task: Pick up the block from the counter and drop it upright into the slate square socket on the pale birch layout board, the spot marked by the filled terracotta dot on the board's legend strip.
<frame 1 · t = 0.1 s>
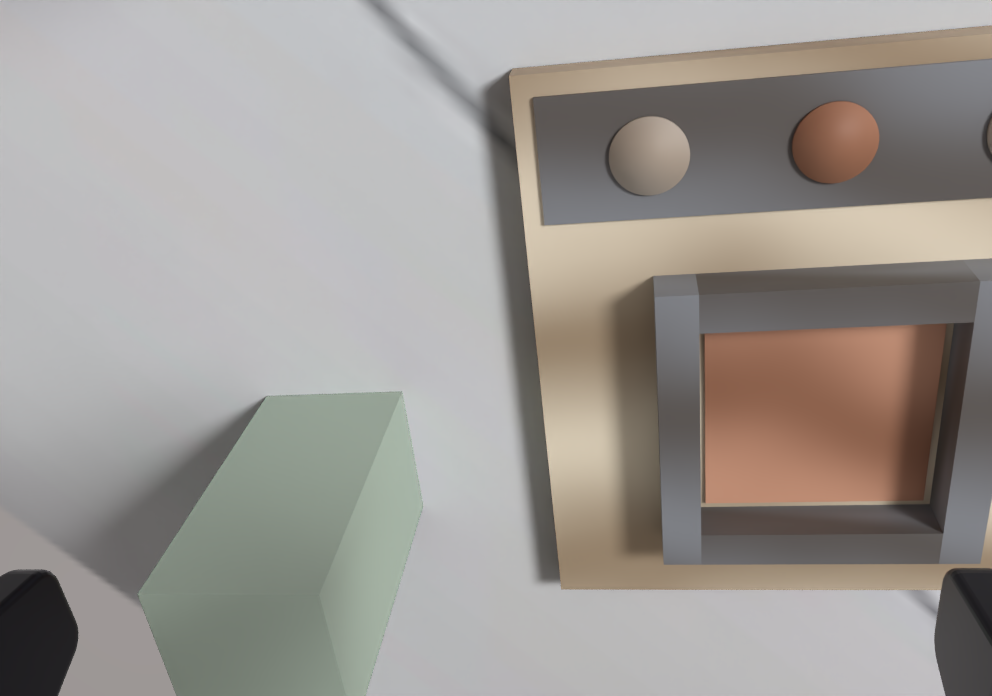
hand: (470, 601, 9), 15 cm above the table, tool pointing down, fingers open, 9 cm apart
layout board: (794, 345, 23), on the table
block: (346, 452, 27), on the table
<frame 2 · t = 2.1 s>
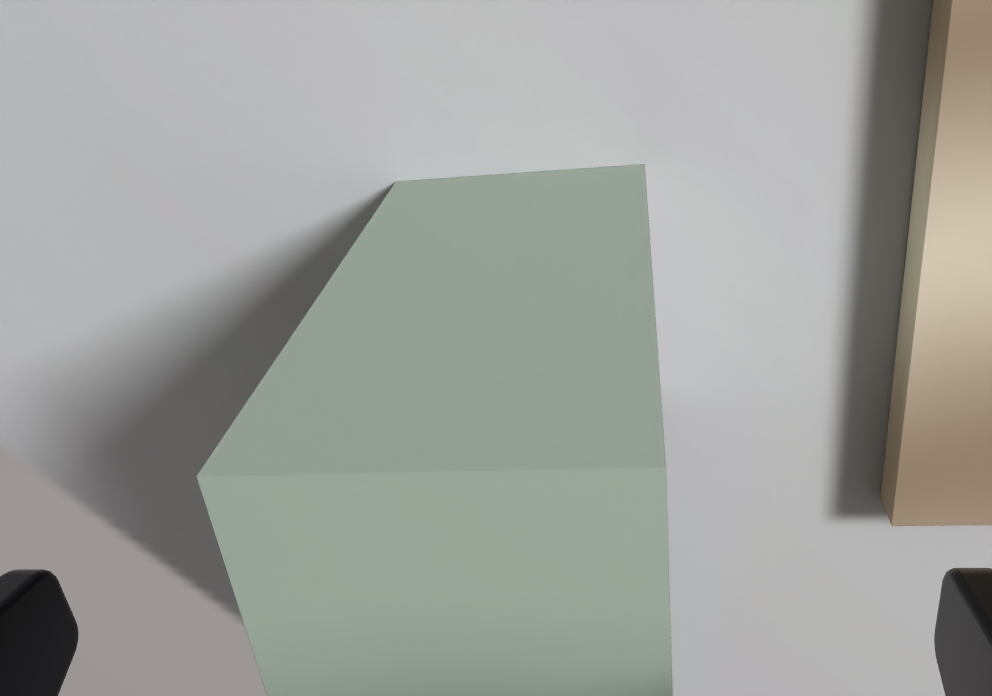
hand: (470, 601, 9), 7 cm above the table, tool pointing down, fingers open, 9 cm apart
block: (529, 287, 16), on the table
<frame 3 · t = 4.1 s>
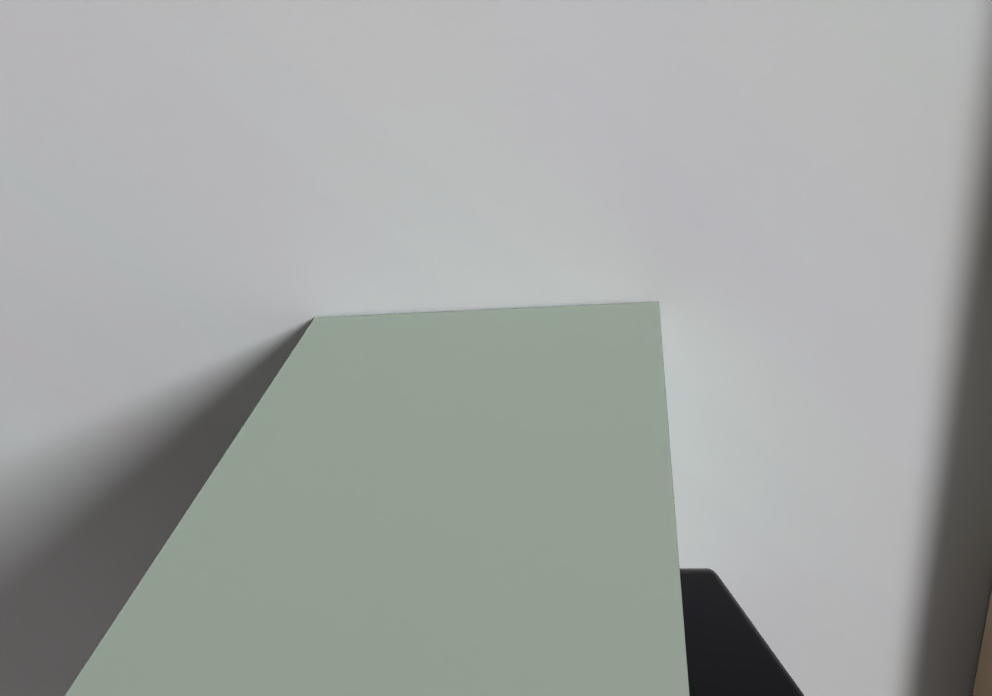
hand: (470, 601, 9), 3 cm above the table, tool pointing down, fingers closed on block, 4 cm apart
block: (500, 454, 11), on the table, touching gripper
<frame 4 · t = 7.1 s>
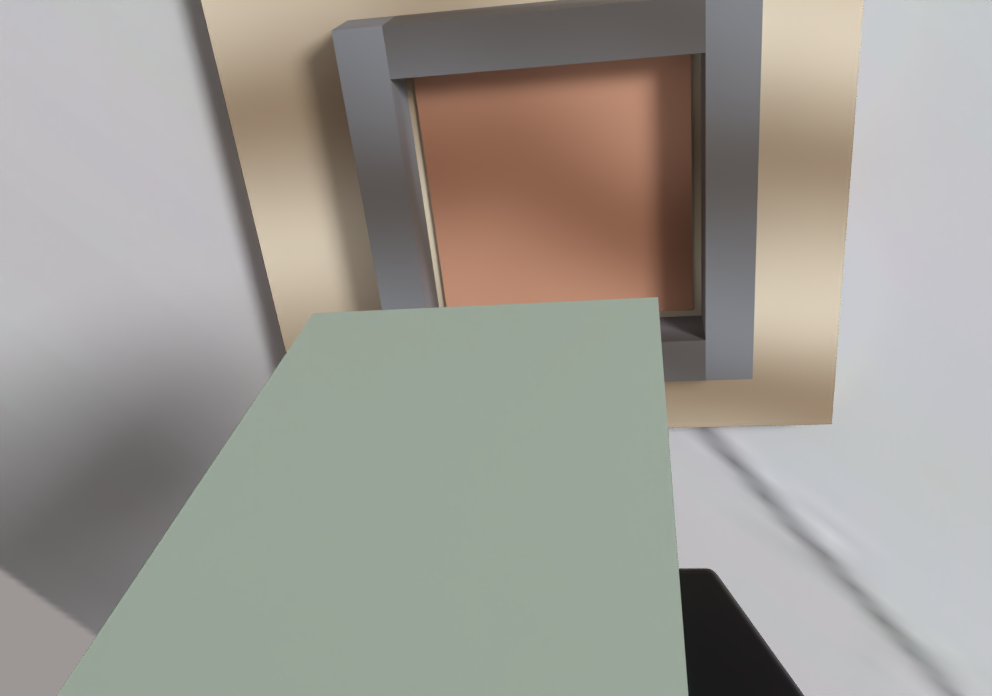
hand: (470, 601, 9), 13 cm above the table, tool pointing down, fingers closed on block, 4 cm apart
layout board: (533, 120, 20), on the table
block: (499, 450, 11), point 10 cm above the table, touching gripper
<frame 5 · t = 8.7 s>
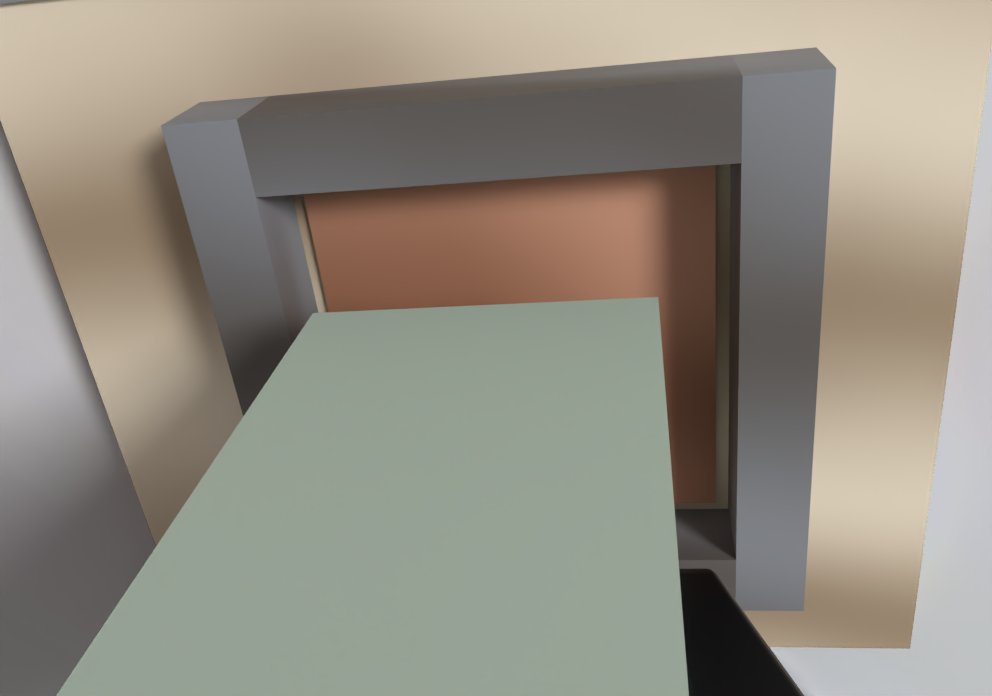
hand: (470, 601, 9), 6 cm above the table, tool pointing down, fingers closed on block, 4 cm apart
layout board: (484, 237, 14), on the table
block: (499, 450, 11), point 3 cm above the table, touching gripper
when the fingers open (4 cm above the table, at t = 10.0 s): block drops 1 cm, resting on layout board.
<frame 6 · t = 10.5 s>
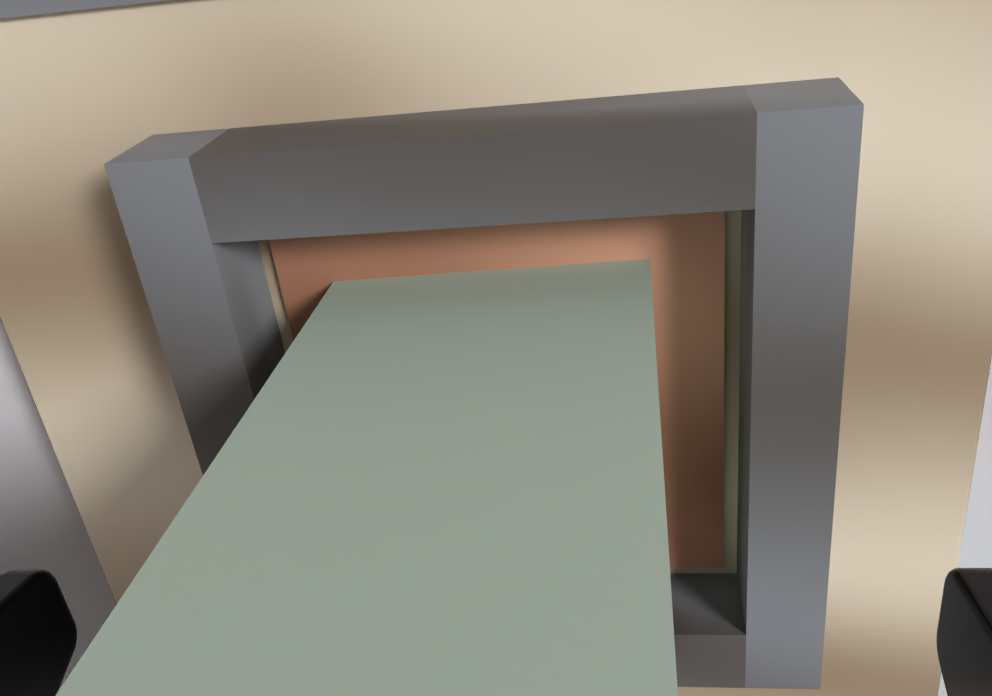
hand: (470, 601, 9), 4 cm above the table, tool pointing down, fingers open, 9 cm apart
layout board: (469, 280, 12), on the table
block: (507, 406, 12), point 1 cm above the table, touching layout board
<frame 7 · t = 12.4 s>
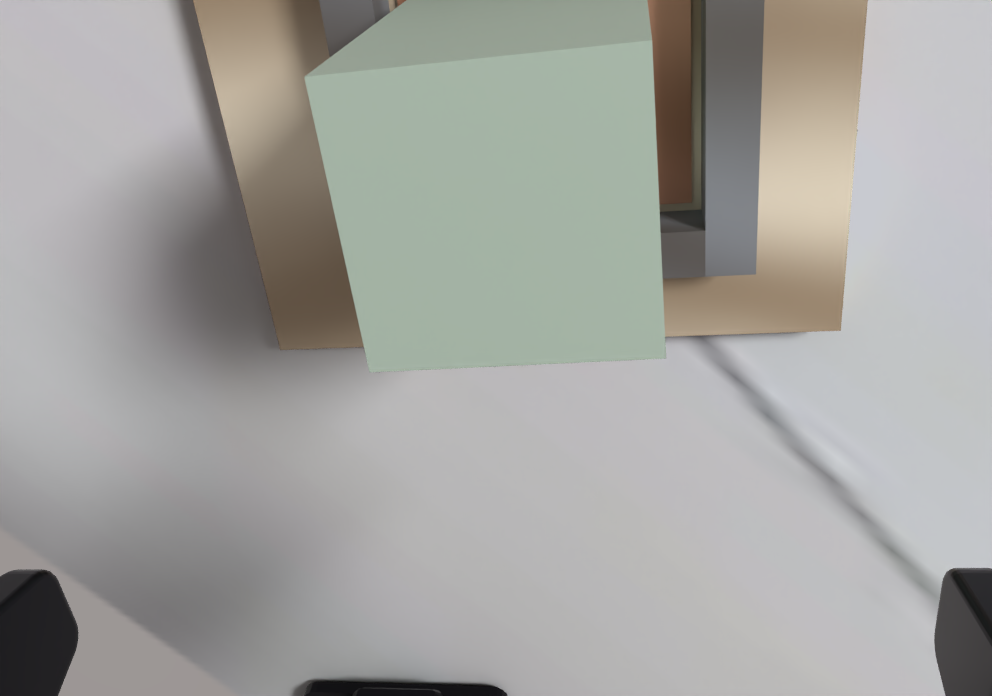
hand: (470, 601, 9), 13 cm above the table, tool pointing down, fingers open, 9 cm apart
block: (545, 76, 18), point 1 cm above the table, touching layout board
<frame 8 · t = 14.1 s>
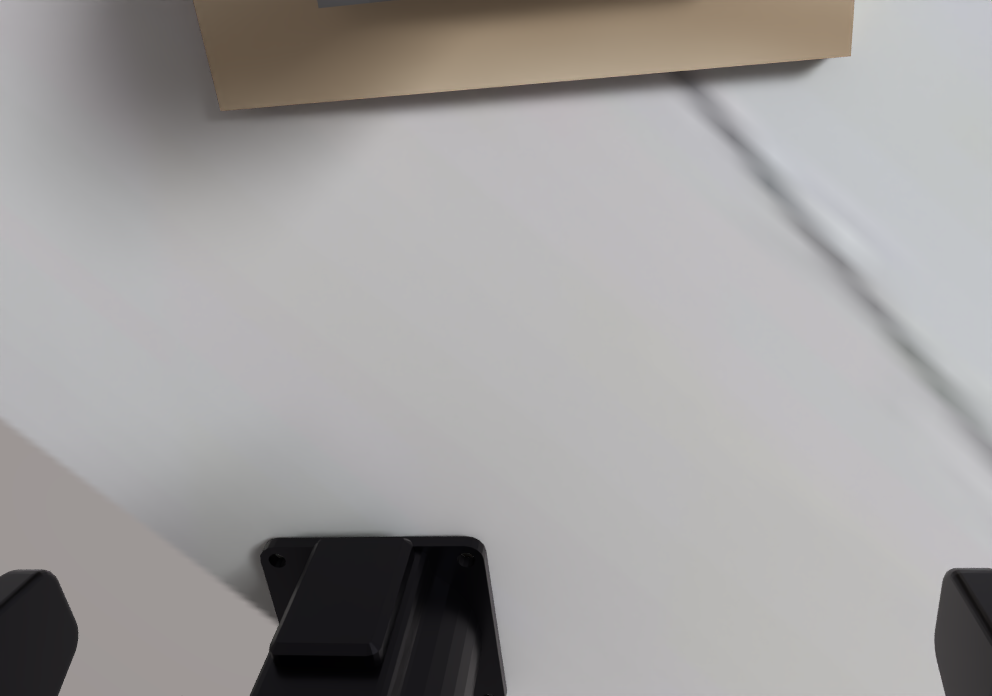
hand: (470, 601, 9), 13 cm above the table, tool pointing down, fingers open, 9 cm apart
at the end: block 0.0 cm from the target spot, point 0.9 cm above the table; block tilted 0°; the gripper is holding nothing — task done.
